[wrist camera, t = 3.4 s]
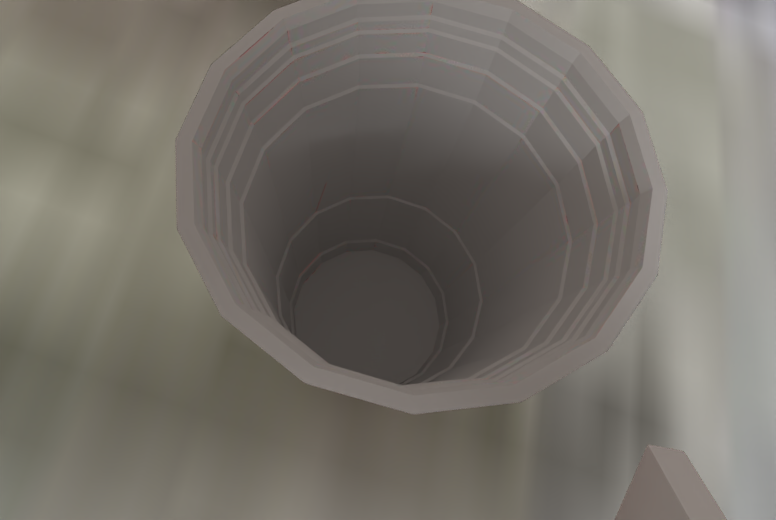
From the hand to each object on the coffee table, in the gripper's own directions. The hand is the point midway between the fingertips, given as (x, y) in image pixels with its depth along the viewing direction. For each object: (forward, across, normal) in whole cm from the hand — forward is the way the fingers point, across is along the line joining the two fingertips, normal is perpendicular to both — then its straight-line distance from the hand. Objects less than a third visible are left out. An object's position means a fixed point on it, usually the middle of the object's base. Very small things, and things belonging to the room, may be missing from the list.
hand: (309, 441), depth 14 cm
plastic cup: (+12, +1, -3) cm, 13 cm away
